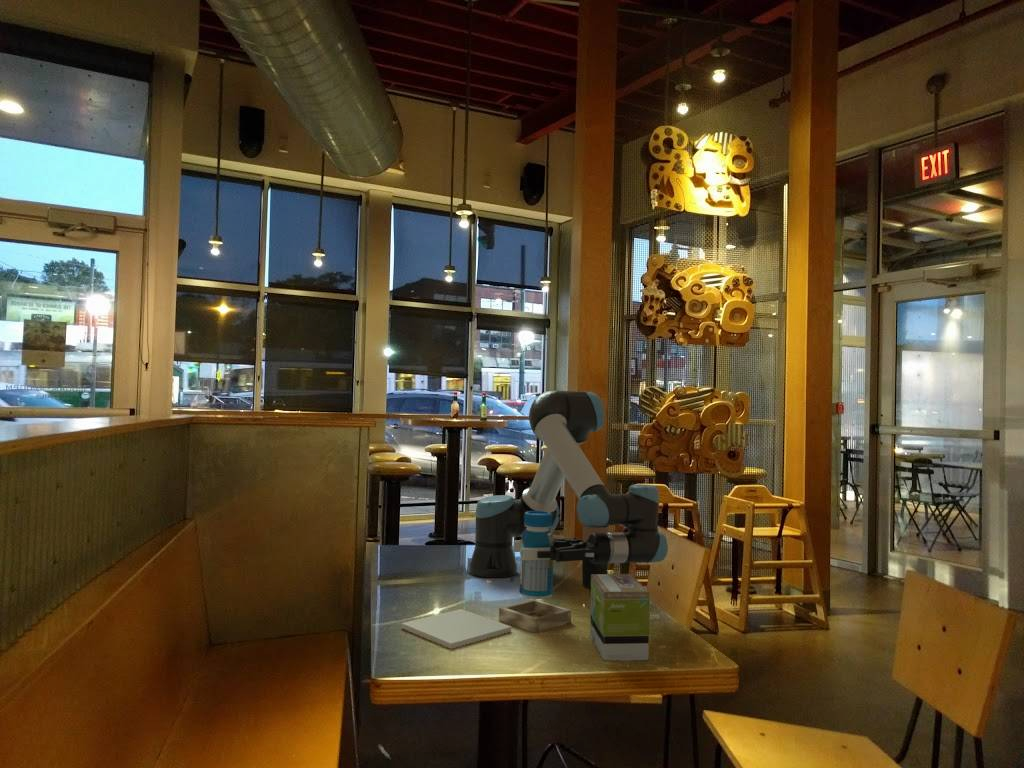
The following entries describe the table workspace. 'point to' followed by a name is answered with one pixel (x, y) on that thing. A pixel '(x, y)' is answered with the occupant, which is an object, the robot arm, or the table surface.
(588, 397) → the robot arm
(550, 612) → the collar
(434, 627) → the serving board
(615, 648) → the tea box
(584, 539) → the travel mug
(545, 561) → the beverage bottle
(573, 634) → the table surface
